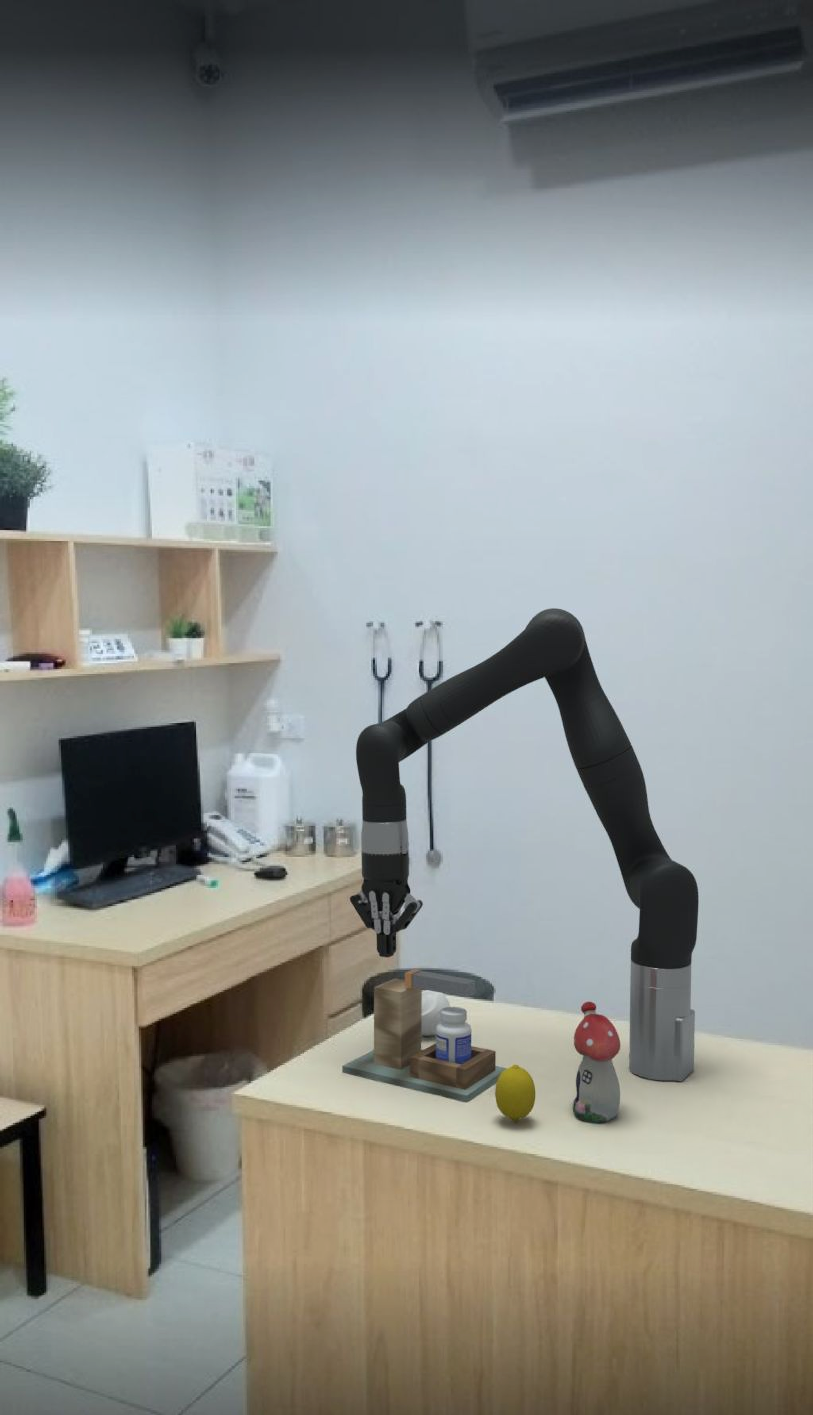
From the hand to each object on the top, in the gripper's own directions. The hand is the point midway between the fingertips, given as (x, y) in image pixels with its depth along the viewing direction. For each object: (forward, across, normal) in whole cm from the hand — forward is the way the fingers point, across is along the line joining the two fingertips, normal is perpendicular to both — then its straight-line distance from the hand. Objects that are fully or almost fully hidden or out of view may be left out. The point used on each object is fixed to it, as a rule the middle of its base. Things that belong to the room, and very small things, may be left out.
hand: (386, 955), depth 182 cm
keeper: (+3, +11, -2) cm, 12 cm away
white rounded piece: (+17, -1, +13) cm, 22 cm away
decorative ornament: (+17, +36, -3) cm, 40 cm away
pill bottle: (+16, +13, -2) cm, 21 cm away
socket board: (+17, +8, -3) cm, 19 cm away
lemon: (+17, +28, -12) cm, 35 cm away
